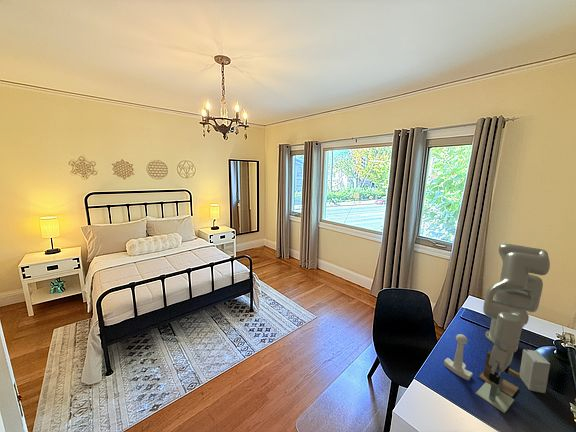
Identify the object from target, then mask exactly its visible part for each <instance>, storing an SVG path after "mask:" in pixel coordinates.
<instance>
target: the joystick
mask: <svg viewBox="0 0 576 432" xmlns="http://www.w3.org/2000/svg"><path fill="white" fill-rule="evenodd" d="M455 339H456V342H457V345H456V349H455V355H454V358H453V360H452V359H450V358H449V357H446V358H445V359H444V360H443V365H444V366H445V367H446V368H447V369H448V370H449V371H451V372H452V373H454V374H456V375H457V376H459V377H460V378H463V379H464V380H466V381H470V380H471V378H472V377H473V372H472V371H470V370H468V369H467V365H466V363H465V362H463V361H464V350H465V349H464V347H465V345H467V344H468V338H467V337H466V335H464V334H462V333H461V334H459V333H458V334H457V335H456V336H455Z"/></svg>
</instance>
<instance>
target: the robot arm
mask: <svg viewBox="0 0 576 432" xmlns="http://www.w3.org/2000/svg"><path fill="white" fill-rule="evenodd" d="M498 254H499V256H500V258H501V260H502V267H501V273H500V281H498V282H496V283H494V284H492V285H491V286H490V287H489V288H488V289H487V290H486V293H485V295H484V301H483V307H482V310H483V311H482V312H483V314H484V315H485V316H486V317H488V318H491V321H490V328H489V330H486V331H485V334H484V335H485V338H486V339H488V341H490V342H491V343H493V346H492V349H491V356H490V360H489V365H490V366H492V365H493V366H492V368H491V371H490V374H489V380H490V381H492V382H494V383H495V384H497V385H498V384H499V380H500V377H501V376H500V375H501V373H503V372H505V373H506V374H509V373H508V371H509V368H511V366H510V365H511V363H512V361H513V359H514V358H513V356H514V353H516V352H517V351H518V349H519V343H520V338H521V333H522V330H523V328H524V327H525V325H527V324H528V322H529V314H528V313H535V312H536V311H537V310H538V309H539V305H540V301H541V297H542V294H543V293H542V292H543V286H544V283H543V279H542V278H541V277H540V276H546V275H547V274H548V273H549V271H550V268H551V267H550V266H551V261H550V258H549V253H548V252H547V250H545V249H542V248H537V247H531V246H524V245H517V244H512V243H511V244H510V243H501V244H500V245H498ZM497 371H498V372H497Z"/></svg>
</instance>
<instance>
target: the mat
mask: <svg viewBox="0 0 576 432" xmlns="http://www.w3.org/2000/svg"><path fill="white" fill-rule="evenodd" d="M490 389H491V385H490V384H488V383H487V382H485V381H484V383H483V385H481V387H480V388H479V389H478V390H477V391H476V392H475V395H477V396H478V397H480V399H481V398H482V399H483V400H484V401H485V402H487V403H488V404H490V405H491V406H493V407H494V408H496V409H497V410H499V411H500V412H502V413H503V414H505V413H506V412H507V411H508V410H509V409H510V407H511V406H512V404H513V403H514V402H515V399H514V398H513V397H512V398H511V397H509V396H508V395H506V394H504V393H503V392H501V394H500V395H497V396H496V400H495V401H494V402H493V401H492V400H490V399H489V395H490Z"/></svg>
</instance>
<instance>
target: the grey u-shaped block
mask: <svg viewBox="0 0 576 432" xmlns="http://www.w3.org/2000/svg"><path fill="white" fill-rule="evenodd" d="M504 379H505V378H503V377H502V376H500V380H499V384H498V385H497V384H495V383H494V382H492V384H491V389H490V395H489V399H490V400H492V401H493V402H494V401H495V400H496V396H497V395H500V394H501V390H502V385H503V380H504Z"/></svg>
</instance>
